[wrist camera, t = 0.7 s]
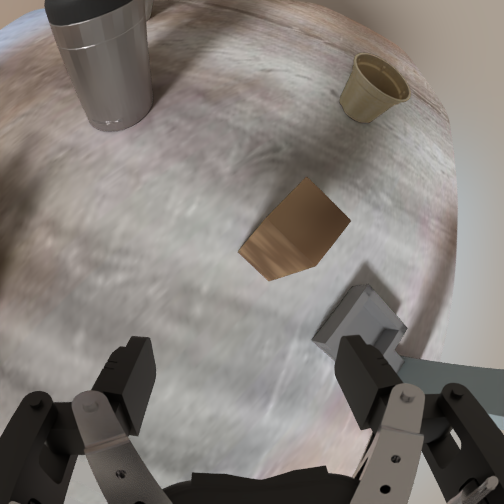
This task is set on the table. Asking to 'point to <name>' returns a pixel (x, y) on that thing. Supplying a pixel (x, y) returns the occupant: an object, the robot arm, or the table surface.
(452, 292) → the table surface
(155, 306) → the table surface
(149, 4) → the house plant
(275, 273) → the tall brown wooden block
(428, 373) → the tall capped pillar
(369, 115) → the flower pot
